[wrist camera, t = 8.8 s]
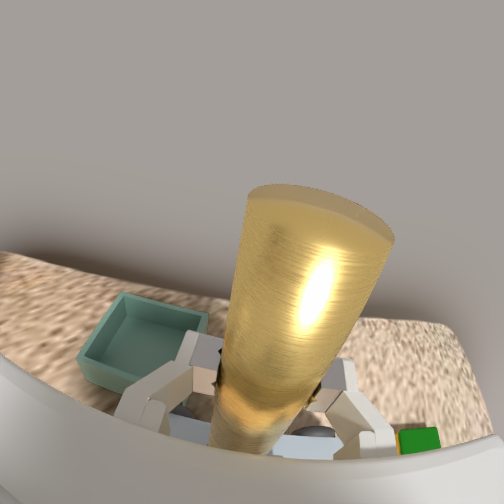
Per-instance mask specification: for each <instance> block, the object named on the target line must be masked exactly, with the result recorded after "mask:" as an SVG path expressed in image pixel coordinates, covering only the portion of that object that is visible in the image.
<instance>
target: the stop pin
mask: <svg viewBox="0 0 504 504" xmlns="http://www.w3.org/2000/svg"><path fill="white" fill-rule="evenodd" d="M393 244H394V234H393V232H392V230H391V229H390V227H388V225H387V224H386V223H385V222H384V221H383V220H382V219H381V218H379V217H378V216H376V215H375V214H374V213H372V212H371V211H369V210H368V209H366V208H364V207H363V206H361V205H359V204H357V203H355V202H353V201H350V200H348V199H346V198H343V197H341V196H338V195H335V194H332V193H329V192H326V191H322V190H318V189H314V188H310V187H303V186H297V185H288V184H272V185H264V186H260V187H257V188H255V189H253V190H252V191H251V192H250V193H249V195H248V199H247V205H246V211H245V216H244V222H243V228H242V234H241V239H240V245H239V251H238V257H237V263H236V268H235V274H234V280H233V286H232V292H231V299H230V304H229V311H228V317H227V323H226V329H225V335H224V342H223V348H222V354H221V361H220V367H219V374H218V380H217V387H216V393H215V400H214V406H213V413H212V420H211V427H210V434H209V441H208V446H210V447H215V448H220V449H225V450H230V451H236V452H242V453H248V454H255V455H263V456H266V455H267V454H268V453H269V451H270V450H271V449H272V448H273V447H274V445H275V444H276V443H277V441H278V440H279V439H280V438H281V436H282V435H283V434H284V433H285V431H286V430H287V429H288V427H289V426H290V425H291V423H292V422H293V421H294V419H295V418H296V416H297V415H298V414H299V412H300V411H301V409H302V408H303V407H304V405H305V404H306V402H307V401H308V399H309V398H310V397H311V395H312V394H313V392H314V391H315V389H316V388H317V386H318V385H319V383H320V382H321V380H322V378H323V377H324V375H325V374H326V372H327V371H328V369H329V367H330V366H331V364H332V363H333V361H334V359H335V358H336V356H337V354H338V353H339V351H340V349H341V348H342V346H343V344H344V342H345V341H346V339H347V337H348V335H349V334H350V332H351V330H352V328H353V326H354V325H355V323H356V321H357V319H358V317H359V315H360V313H361V312H362V310H363V308H364V306H365V304H366V302H367V300H368V298H369V296H370V294H371V292H372V290H373V288H374V286H375V284H376V282H377V280H378V277H379V275H380V273H381V271H382V269H383V267H384V264H385V262H386V260H387V258H388V256H389V253H390V251H391V249H392V246H393Z"/></svg>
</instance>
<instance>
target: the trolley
mask: <svg viewBox="0 0 504 504" xmlns="http://www.w3.org/2000/svg"><path fill="white" fill-rule="evenodd" d="M168 418H169V424H170V429H171V432H170V436H171V437H174V438H178V439H181V440H185V441H189V442H193V443H197V444H201V445H206V446H208V441H209V434H210V427H211V423H209V422H204V421H200V420H196V419H195V415H194V413H193V412H192V411H191V410H190V409H188V408H187V407H185V406H183V405H181V404H178V405H177V406H176V407H175V408H173V409H172V410H171V411H170V412H169V413H168ZM343 446H344V445H343V443H342V442H341V440H340V438H335V431H334V429H332V428H330V427H325V426H310V427H304V428H300V429H297V430H295V431H294V432H293V433H292V435H284V434H283V435H282V436H281V438H280V439H279V440H278V441H277V443H276V444H275V445H274V447H273V448H272V449H271V450H270V451H269V453H268V454H267V455H266V456H272V457H282V458H295V459H316V460H333V454H334V453H335V452H337V451H338V450H339V449H341V448H342V447H343Z"/></svg>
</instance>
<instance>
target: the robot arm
mask: <svg viewBox="0 0 504 504" xmlns="http://www.w3.org/2000/svg"><path fill="white" fill-rule="evenodd" d="M223 342H224V339H223V338H219V337H215V336H211V335H207V334H203V333H199V332H195V331H191V330H188V331H187V332H186V334H185V336H184V339H183V341H182V344H181V346H180V349H179V352H178V354H177V357H176V359H175V361H172V360H171V361H169V362H168V363H166V364H165V365H163V366H161V367H160V368H158V369H157V370H155V371H154V372H152V373H150V374H149V375H147V376H145V377H144V378H142V379H141V380H139V381H137V382H136V383H134V384H132V385H131V386H129V387H128V388H126V389H125V391H124V393H123V395H122V397H121V400H120V402H119V404H118V406H117V408H116V410H115V413H114V415H113V416H111V415H109V414H106V413H104V412H102V411H99V410H97V409H95V408H93V407H91V406H89V405H86V404H84V403H82V402H80V401H78V400H76V399H74V398H72V397H70V396H68V395H66V394H65V393H63V392H61V391H59V390H57V389H55V388H54V387H52V386H50V385H48V384H47V383H45V382H43V381H42V380H40V379H38V378H37V377H35V376H33V375H32V374H30V373H29V372H27V371H25V370H24V369H22V368H21V367H19V366H18V365H16V364H15V363H14V362H12V361H11V360H9V359H8V358H7V357H5V356H4V355H3V354H1V353H0V504H504V441H503V440H502V439H501V438H500V437H499V436H498V435H496V434H491V435H488V436H485V437H482V438H478V439H475V440H472V441H468V442H465V443H461V444H457V445H453V446H449V447H445V448H440V449H435V450H430V451H425V452H419V453H413V454H406V455H399V456H398V455H397V447H396V441H395V434H394V429H393V428H392V427H391V426H390V424H389V423H388V422H387V421H386V420H385V419H384V417H383V416H382V415H381V414H380V413H379V411H378V410H377V409H376V408H375V407H374V405H373V404H372V403H371V402H370V401H369V400H368V398H367V397H366V396H365V395H364V394H363V392H359V389H358V382H357V376H356V370H355V365H354V361H353V359H345V358H338V357H336V358H335V359H334V361H333V363H332V364H331V366H330V367H329V369H328V371H327V372H326V374H325V375H324V377H323V378H322V380H321V382H320V383H319V385H318V386H317V388H316V389H315V391H314V392H313V394H312V395H311V397H310V398H309V399H308V401H307V402H306V411H313V412H323V413H325V415H326V417H327V418H328V420H329V422H330V423H331V425H332V427H333V428H334V430H335V432H336V433H337V435H338V437H339V438H340V440H341V442H342V443H343V445H344V446H343V447H342V448H341V449H339V450H338V451H337V452H335V453H334V454H333V460H316V459H295V458H282V457H272V456H263V455H255V454H248V453H242V452H236V451H230V450H225V449H220V448H215V447H210V446H206V445H201V444H197V443H193V442H189V441H185V440H181V439H178V438H174V437H171V436H170V432H171V429H170V424H169V418H168V413H169V412H170V411H171V410H172V409H173V408H175V407H176V406H177V405H178V404H179V403H181V402H182V401H183V400H184V399H185V398H187V397H188V396H189V395H190V394H191V393H192V391H193V392H198V393H202V394H207V395H212V396H214V392H215V388H216V384H217V380H218V374H219V367H220V361H221V354H222V348H223Z"/></svg>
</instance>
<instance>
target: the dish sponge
mask: <svg viewBox="0 0 504 504" xmlns="http://www.w3.org/2000/svg"><path fill="white" fill-rule="evenodd" d="M395 441H396V447H397V455H398V456H399V455H406V454H413V453H419V452H425V451H430V450H435V449H440V448H441V445H440V440H439V435H438V430H437V428H436V427H427V428H417V429H402V430H400V431H399V432H398V433H396V434H395Z"/></svg>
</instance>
